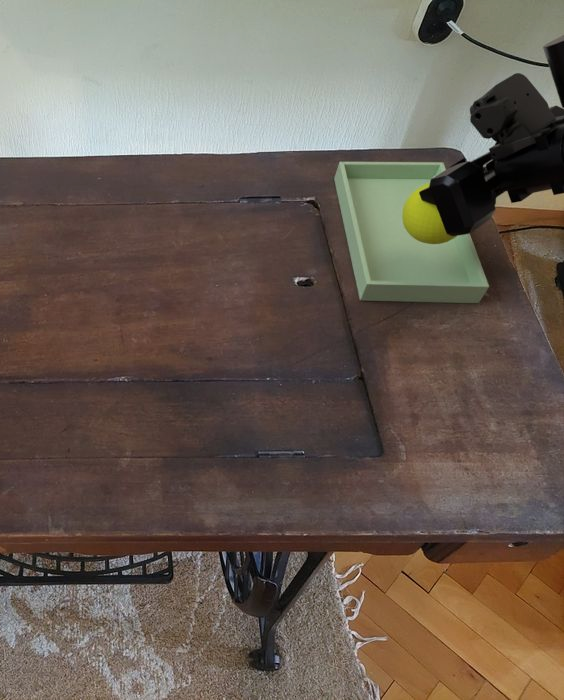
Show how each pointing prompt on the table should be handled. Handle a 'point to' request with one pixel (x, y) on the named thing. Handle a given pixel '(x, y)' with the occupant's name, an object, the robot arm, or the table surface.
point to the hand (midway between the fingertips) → (435, 186)
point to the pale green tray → (401, 238)
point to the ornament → (424, 220)
